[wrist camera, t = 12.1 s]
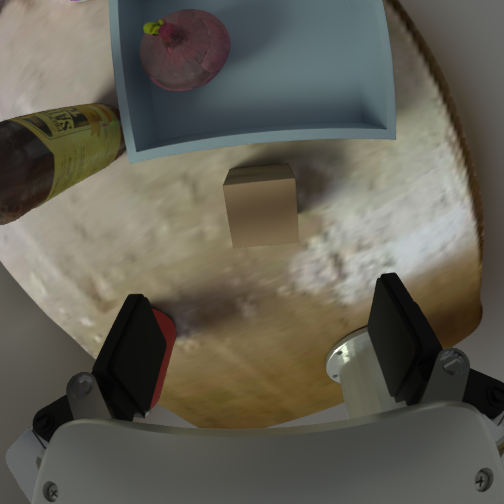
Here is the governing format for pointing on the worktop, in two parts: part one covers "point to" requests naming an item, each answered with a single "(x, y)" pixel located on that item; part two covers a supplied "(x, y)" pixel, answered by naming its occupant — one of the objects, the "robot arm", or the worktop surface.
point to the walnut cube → (261, 205)
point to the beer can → (170, 336)
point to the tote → (261, 76)
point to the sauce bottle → (54, 153)
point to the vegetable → (184, 49)
